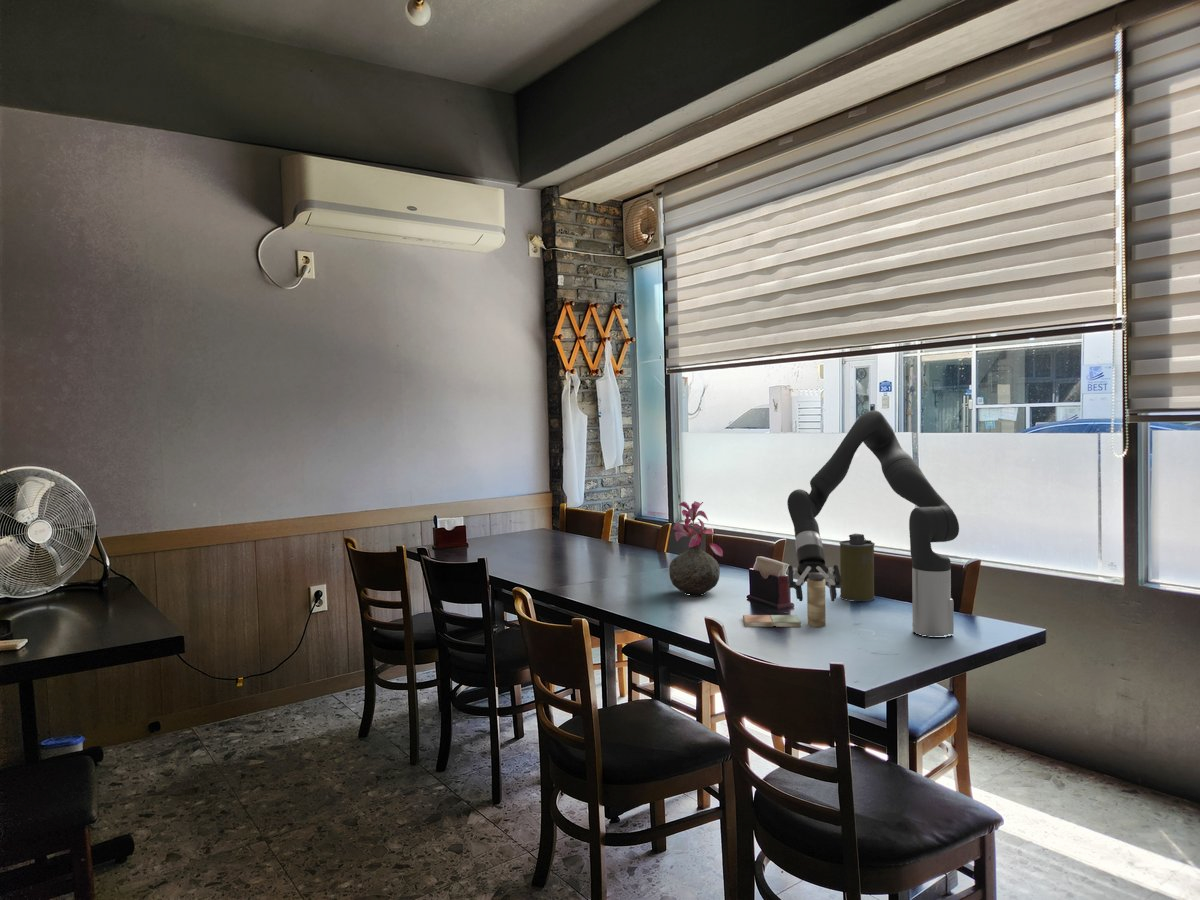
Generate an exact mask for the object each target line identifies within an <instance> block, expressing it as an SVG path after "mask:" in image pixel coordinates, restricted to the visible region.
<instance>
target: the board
mask: <svg viewBox="0 0 1200 900" xmlns="http://www.w3.org/2000/svg"><path fill="white" fill-rule="evenodd" d="M742 620H743V624H744V626H745V627H765V628H766V627H772V628H773V626H776V628H777V627H782V628H783V627H785V628H787V627H792V628H793V627H794V628H801V627H802V624H801V623H802V622H801V621H800V619H799V618H798V616H797V614H796V615H795V614H792V615H791V614H770V615H769V614H743V615H742Z"/></svg>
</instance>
